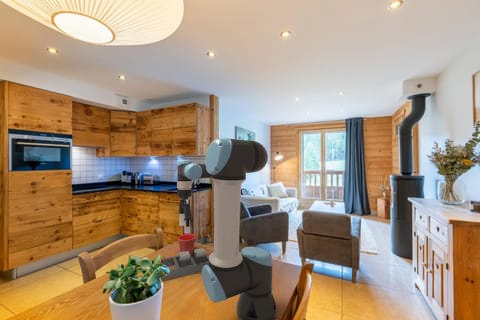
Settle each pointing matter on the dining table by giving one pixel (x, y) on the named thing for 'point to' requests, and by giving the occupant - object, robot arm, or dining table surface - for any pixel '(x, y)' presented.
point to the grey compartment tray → (184, 270)
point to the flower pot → (187, 242)
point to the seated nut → (199, 255)
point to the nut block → (183, 259)
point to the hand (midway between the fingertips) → (184, 229)
